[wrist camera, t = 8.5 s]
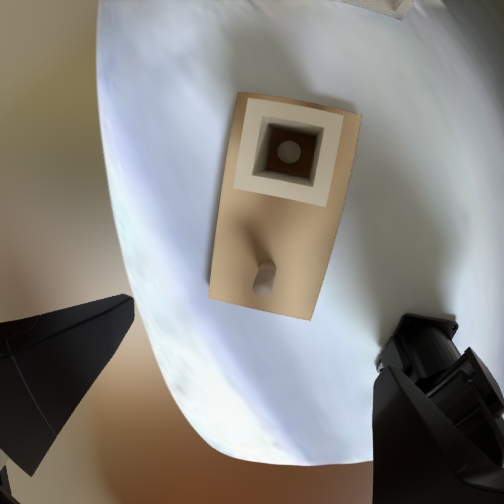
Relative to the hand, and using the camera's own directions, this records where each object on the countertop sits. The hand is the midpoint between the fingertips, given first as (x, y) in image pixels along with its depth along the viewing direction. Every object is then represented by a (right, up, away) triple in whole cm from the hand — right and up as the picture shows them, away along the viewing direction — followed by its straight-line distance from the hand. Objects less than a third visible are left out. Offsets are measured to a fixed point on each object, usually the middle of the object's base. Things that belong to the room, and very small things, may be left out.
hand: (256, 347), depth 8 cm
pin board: (+2, +6, +10) cm, 12 cm away
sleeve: (+2, +9, +8) cm, 12 cm away
